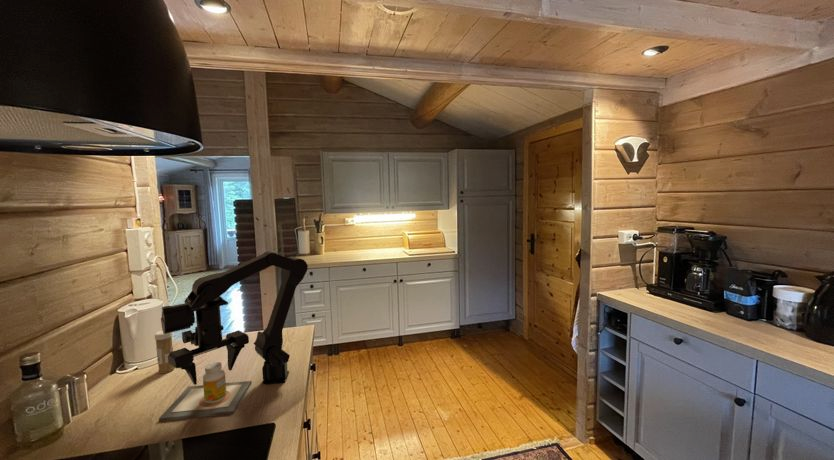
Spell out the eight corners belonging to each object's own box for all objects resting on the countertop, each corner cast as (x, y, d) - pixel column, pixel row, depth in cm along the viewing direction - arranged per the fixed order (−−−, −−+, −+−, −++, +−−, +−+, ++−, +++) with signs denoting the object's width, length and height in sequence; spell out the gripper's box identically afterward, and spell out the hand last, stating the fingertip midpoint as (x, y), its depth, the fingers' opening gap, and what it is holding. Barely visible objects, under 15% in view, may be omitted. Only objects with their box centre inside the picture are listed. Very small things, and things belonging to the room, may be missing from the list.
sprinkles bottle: (174, 371, 114) (171, 332, 112) (157, 375, 111) (153, 335, 110) (175, 365, 117) (171, 328, 116) (158, 369, 115) (155, 331, 113)
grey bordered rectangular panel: (251, 383, 106) (251, 379, 105) (233, 413, 91) (233, 409, 91) (188, 388, 103) (188, 385, 103) (159, 421, 88) (158, 417, 88)
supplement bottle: (199, 401, 95) (197, 368, 94) (217, 391, 100) (215, 359, 99) (213, 405, 93) (210, 371, 92) (230, 394, 98) (228, 362, 97)
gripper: (229, 308, 106) (233, 356, 108) (157, 327, 91) (162, 382, 93) (248, 315, 99) (251, 366, 101) (174, 337, 84) (179, 396, 86)
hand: (213, 376), depth 95 cm, fingers open, 9 cm apart
